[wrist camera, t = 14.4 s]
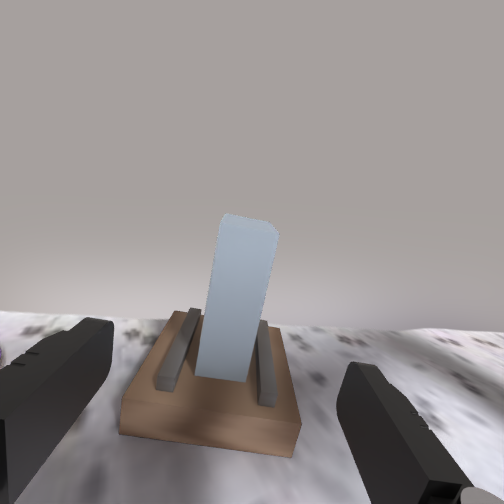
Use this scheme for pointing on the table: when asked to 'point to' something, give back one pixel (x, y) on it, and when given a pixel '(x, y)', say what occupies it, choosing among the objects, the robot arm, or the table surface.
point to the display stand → (213, 395)
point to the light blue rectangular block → (235, 297)
